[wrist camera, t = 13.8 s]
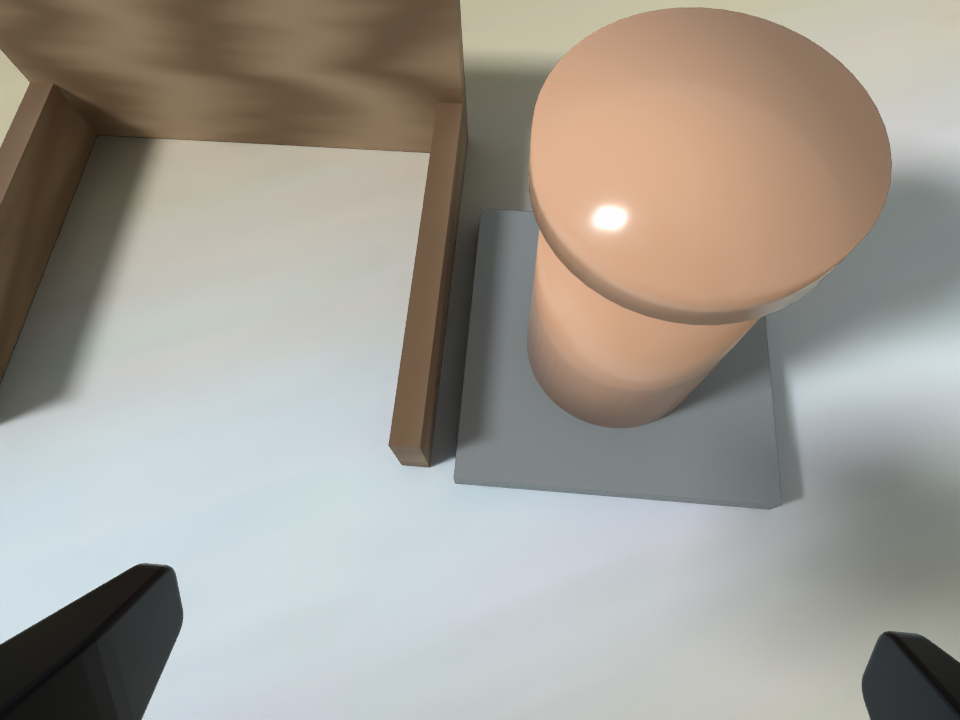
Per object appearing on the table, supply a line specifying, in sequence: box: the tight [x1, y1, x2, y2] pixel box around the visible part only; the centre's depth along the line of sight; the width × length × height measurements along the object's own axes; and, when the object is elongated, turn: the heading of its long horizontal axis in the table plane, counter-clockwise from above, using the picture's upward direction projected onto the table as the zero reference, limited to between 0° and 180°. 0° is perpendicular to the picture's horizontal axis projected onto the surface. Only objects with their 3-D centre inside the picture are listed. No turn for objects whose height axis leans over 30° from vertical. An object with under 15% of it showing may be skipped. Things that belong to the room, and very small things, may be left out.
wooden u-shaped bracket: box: [0, 0, 468, 467], centre depth 22 cm, size 18×15×8 cm
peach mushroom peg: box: [527, 8, 892, 428], centre depth 18 cm, size 7×7×11 cm
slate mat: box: [454, 209, 782, 509], centre depth 23 cm, size 11×11×1 cm
